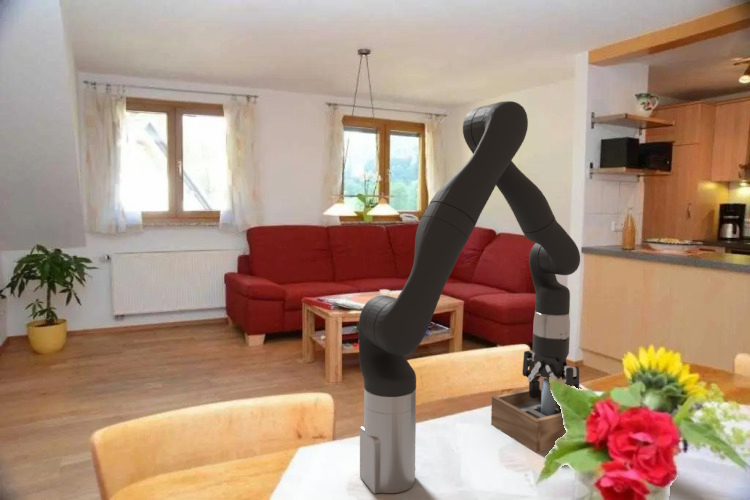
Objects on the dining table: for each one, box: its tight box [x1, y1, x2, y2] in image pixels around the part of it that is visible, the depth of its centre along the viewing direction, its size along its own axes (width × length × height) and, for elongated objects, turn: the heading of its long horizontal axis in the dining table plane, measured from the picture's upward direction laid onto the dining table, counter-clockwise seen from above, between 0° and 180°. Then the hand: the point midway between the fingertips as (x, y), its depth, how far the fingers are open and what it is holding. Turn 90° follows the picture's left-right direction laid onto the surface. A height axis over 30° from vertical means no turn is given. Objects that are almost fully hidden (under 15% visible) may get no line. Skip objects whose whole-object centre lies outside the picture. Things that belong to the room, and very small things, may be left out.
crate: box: [490, 386, 566, 454], centre depth 109 cm, size 14×14×6 cm
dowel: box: [541, 377, 556, 416], centre depth 110 cm, size 3×3×11 cm
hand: (548, 404), depth 110 cm, fingers open, 8 cm apart
